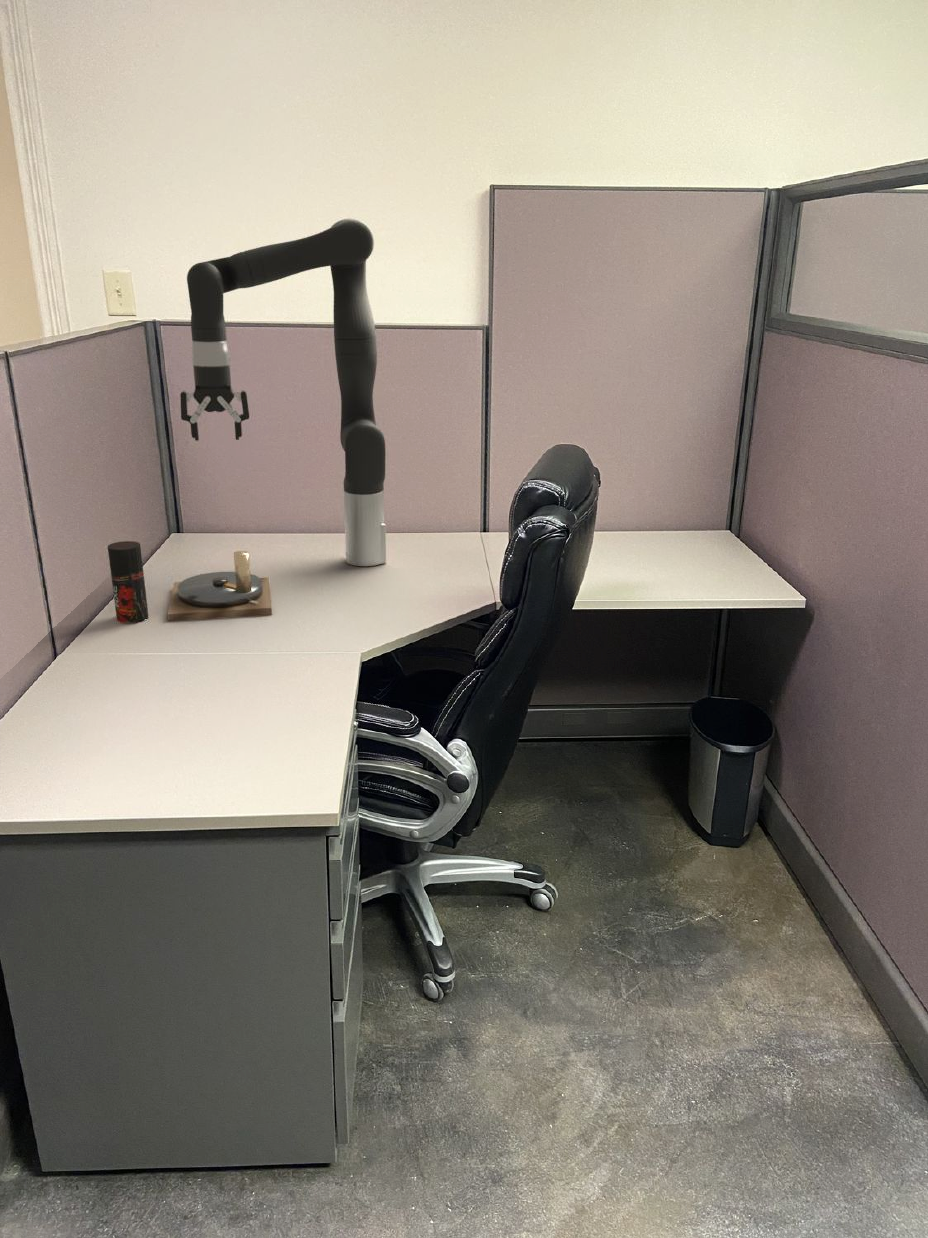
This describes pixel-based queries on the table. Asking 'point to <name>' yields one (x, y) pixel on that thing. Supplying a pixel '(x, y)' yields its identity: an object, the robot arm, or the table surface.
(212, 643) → the table surface
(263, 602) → the stand base
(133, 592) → the deodorant
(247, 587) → the crank turntable
